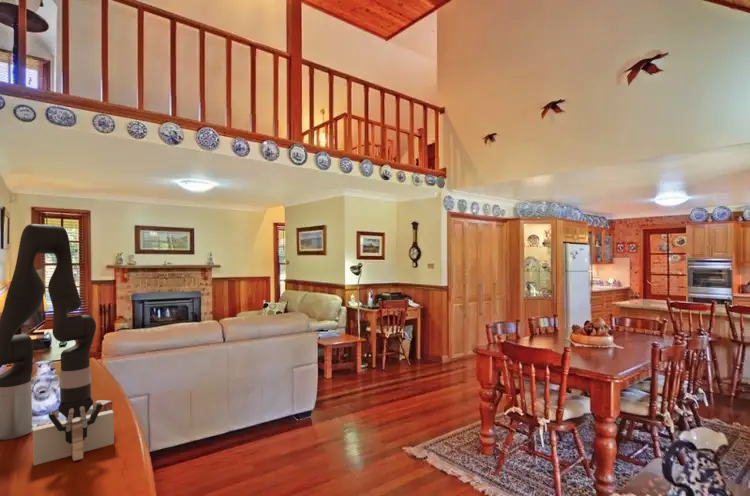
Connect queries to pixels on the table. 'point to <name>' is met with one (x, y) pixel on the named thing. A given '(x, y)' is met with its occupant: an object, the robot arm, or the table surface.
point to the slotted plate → (77, 439)
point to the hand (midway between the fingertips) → (76, 440)
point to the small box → (105, 406)
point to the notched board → (54, 445)
